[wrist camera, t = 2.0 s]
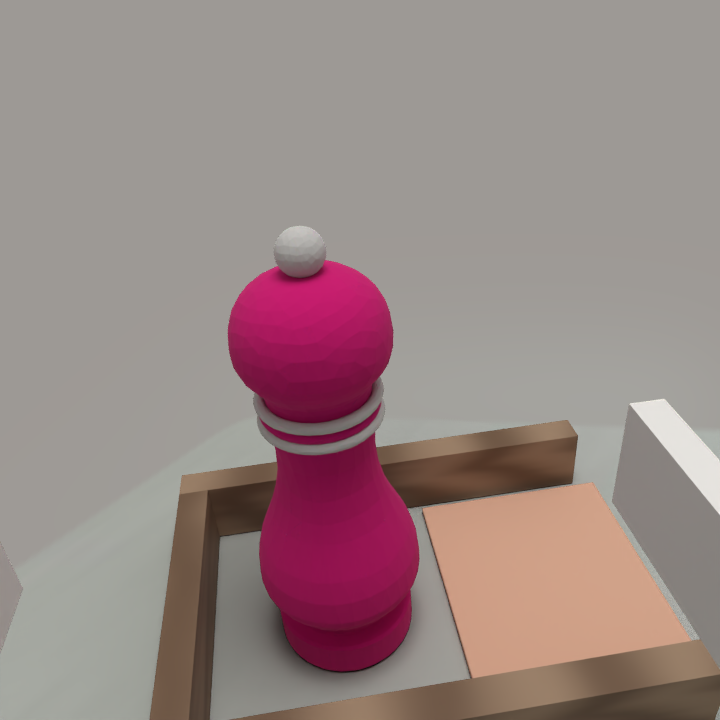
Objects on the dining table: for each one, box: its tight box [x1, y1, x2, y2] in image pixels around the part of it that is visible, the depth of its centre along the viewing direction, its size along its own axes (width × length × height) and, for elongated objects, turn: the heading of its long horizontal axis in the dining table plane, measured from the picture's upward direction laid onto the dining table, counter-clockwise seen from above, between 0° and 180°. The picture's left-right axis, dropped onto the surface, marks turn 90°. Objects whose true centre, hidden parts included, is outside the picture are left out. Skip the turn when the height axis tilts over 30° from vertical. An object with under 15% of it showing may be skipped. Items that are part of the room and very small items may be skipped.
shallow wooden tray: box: [150, 420, 720, 720], centre depth 33 cm, size 22×16×4 cm
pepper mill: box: [228, 226, 419, 672], centre depth 28 cm, size 7×7×20 cm
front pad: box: [422, 482, 691, 678], centre depth 34 cm, size 10×12×1 cm
